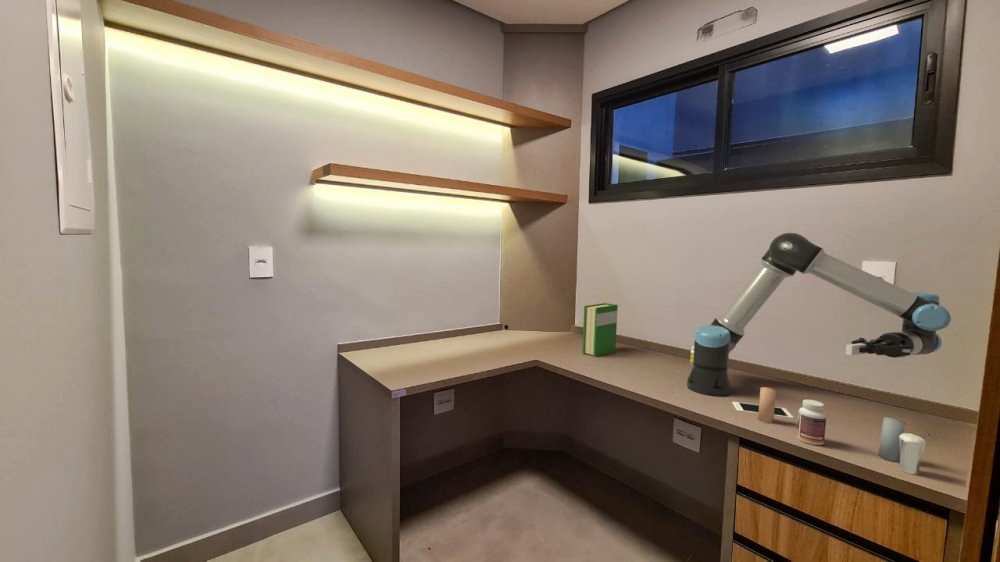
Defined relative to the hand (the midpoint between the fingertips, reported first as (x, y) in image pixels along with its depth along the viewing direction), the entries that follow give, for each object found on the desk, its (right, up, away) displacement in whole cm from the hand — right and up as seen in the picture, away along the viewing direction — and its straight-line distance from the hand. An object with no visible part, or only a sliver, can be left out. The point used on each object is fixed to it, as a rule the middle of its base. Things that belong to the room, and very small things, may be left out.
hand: (848, 349), depth 118 cm
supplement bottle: (-11, -19, +69) cm, 72 cm away
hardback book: (-51, -16, +87) cm, 102 cm away
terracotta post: (-18, -24, +10) cm, 31 cm away
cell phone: (-14, -24, +18) cm, 33 cm away
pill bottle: (-14, -25, -3) cm, 29 cm away
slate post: (0, -26, -12) cm, 28 cm away
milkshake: (0, -27, -18) cm, 32 cm away
